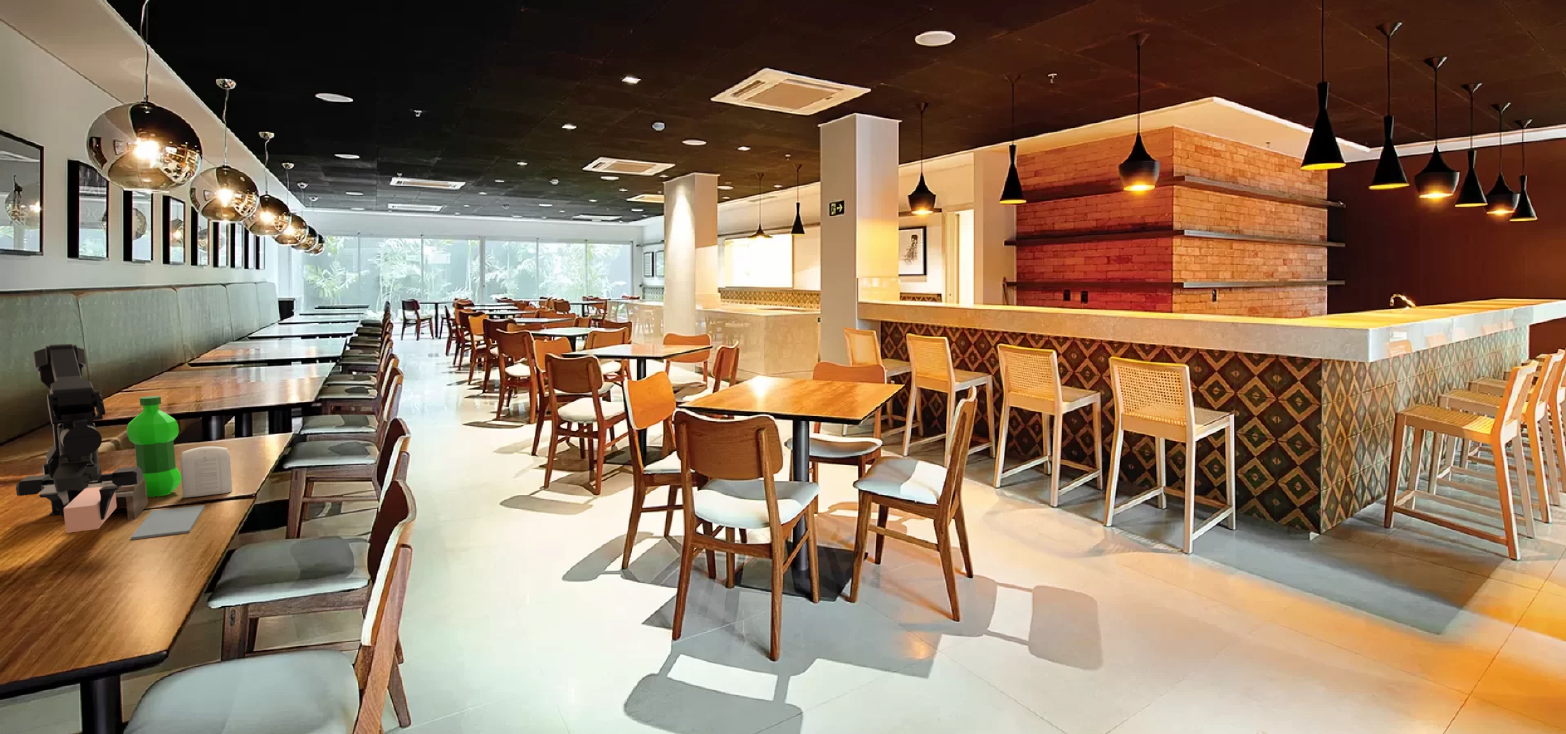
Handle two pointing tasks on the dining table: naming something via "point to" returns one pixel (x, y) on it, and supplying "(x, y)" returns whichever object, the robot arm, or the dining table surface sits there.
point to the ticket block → (86, 511)
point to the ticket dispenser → (130, 497)
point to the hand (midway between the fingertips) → (86, 521)
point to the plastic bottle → (155, 447)
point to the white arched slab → (205, 471)
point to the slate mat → (168, 522)
